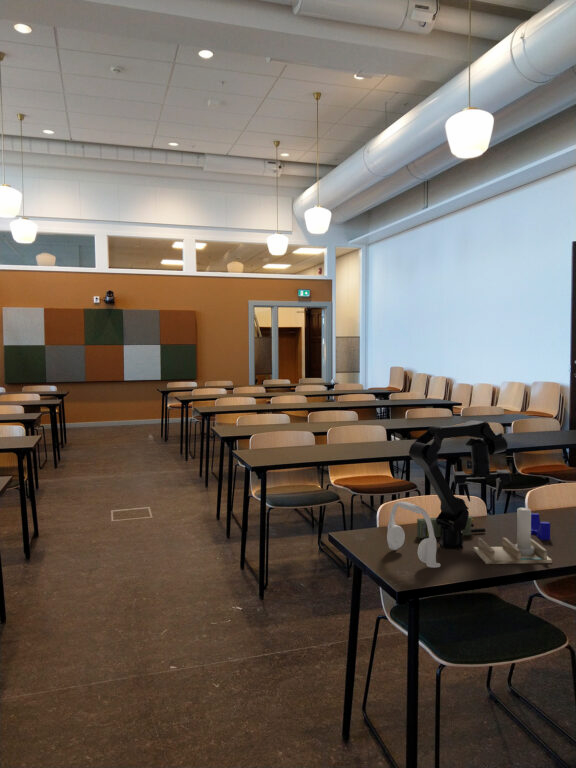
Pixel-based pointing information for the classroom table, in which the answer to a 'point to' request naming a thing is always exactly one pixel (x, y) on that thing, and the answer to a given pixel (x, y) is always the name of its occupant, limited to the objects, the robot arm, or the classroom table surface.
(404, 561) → the classroom table surface
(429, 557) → the headset
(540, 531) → the blue curved cradle
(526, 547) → the white bulb knob
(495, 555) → the slot rack
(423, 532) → the handheld radio
